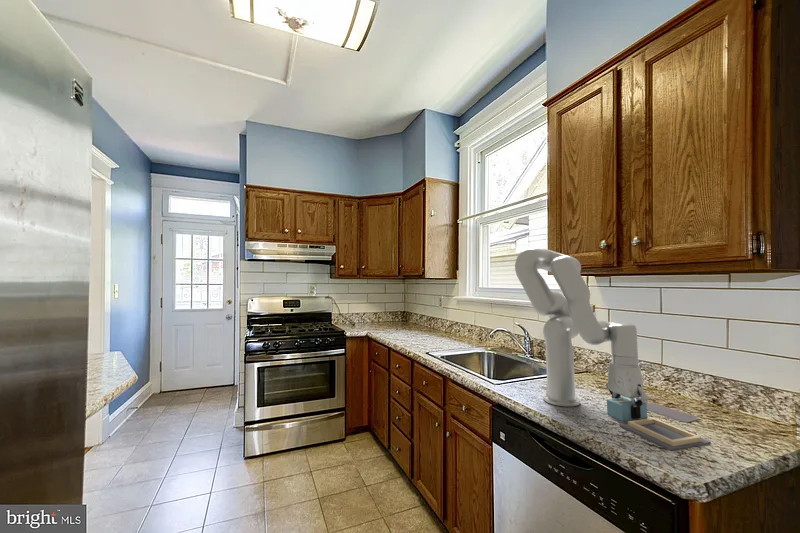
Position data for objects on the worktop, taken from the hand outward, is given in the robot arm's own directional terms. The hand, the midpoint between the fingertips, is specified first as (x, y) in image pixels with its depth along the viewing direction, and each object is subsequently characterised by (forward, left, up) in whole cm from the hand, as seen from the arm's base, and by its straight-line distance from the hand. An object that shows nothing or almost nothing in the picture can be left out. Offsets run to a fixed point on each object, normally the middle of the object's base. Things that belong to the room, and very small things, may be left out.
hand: (627, 413), depth 116 cm
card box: (0, 0, -1) cm, 1 cm away
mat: (+14, -2, -1) cm, 14 cm away
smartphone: (+2, +15, -1) cm, 15 cm away
